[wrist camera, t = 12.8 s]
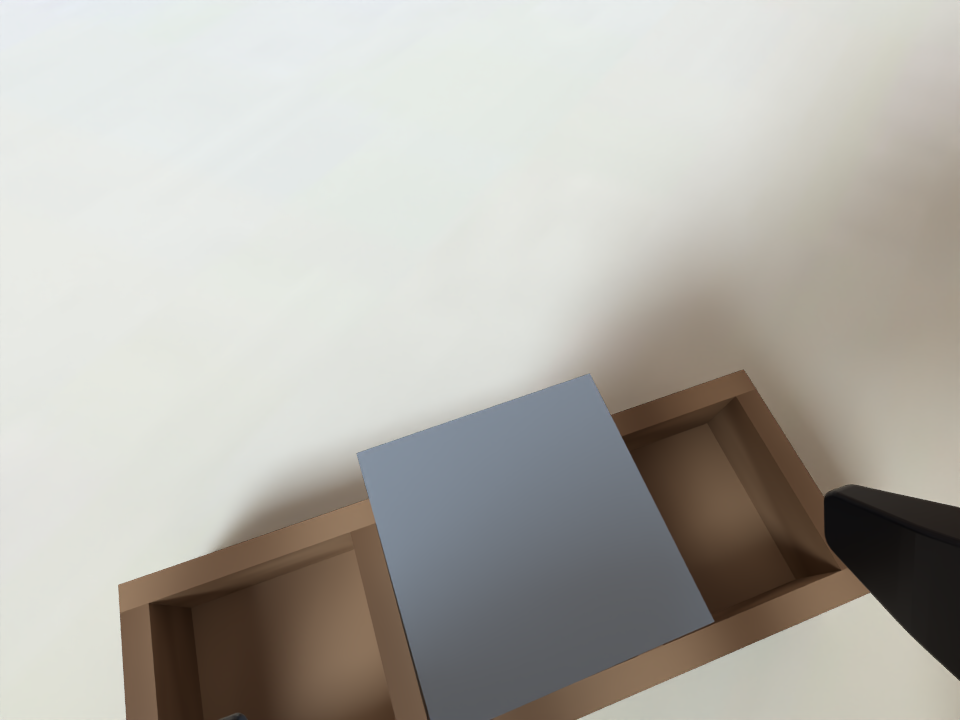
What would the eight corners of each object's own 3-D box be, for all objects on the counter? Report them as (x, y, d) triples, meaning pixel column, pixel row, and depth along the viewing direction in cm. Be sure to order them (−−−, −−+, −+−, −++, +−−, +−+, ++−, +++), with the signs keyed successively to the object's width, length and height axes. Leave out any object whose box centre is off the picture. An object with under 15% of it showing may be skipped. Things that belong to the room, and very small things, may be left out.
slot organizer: (707, 406, 23) (743, 369, 20) (816, 596, 20) (880, 588, 16) (175, 593, 20) (118, 584, 16) (202, 857, 16) (137, 908, 13)
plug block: (529, 515, 20) (589, 373, 9) (576, 632, 18) (714, 621, 8) (423, 556, 19) (356, 453, 9) (461, 680, 18) (436, 742, 7)
